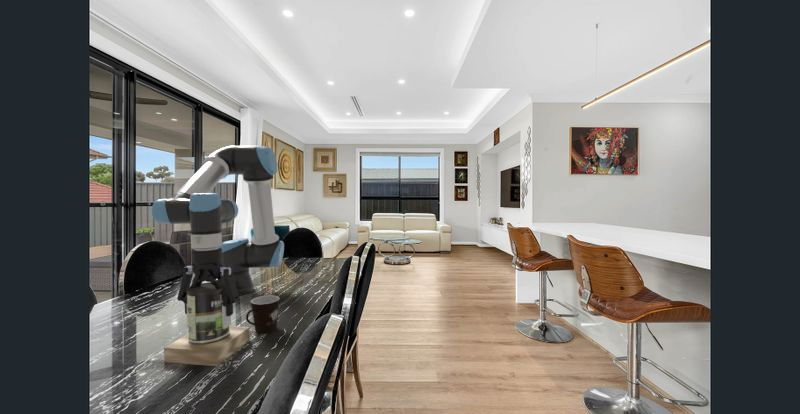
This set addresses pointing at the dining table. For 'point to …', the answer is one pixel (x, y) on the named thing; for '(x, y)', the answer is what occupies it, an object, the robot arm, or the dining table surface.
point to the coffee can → (205, 314)
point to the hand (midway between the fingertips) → (209, 325)
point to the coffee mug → (264, 313)
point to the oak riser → (206, 348)
